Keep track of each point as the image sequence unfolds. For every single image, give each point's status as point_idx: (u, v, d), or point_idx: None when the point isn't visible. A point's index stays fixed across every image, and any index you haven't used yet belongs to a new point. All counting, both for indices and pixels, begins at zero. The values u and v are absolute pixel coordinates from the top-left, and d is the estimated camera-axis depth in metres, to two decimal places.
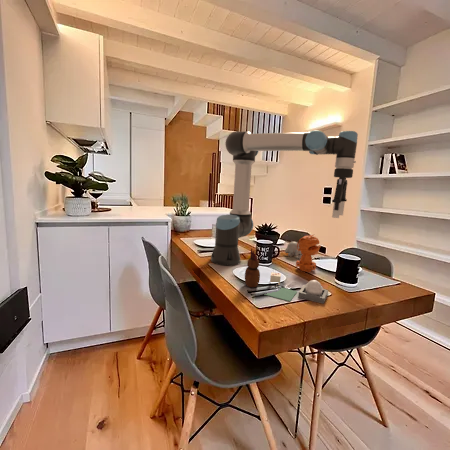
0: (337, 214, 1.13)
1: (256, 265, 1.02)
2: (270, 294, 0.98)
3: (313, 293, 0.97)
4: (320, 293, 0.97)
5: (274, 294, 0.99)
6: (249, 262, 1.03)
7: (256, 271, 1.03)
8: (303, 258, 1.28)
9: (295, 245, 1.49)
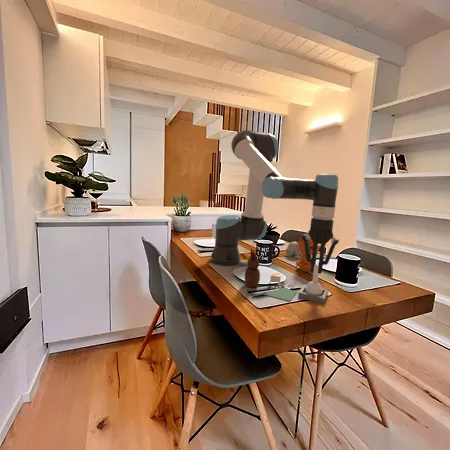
0: (313, 277, 0.98)
1: (256, 265, 1.02)
2: (270, 294, 0.98)
3: (313, 294, 0.97)
4: (320, 294, 0.97)
5: (274, 294, 0.99)
6: (249, 262, 1.03)
7: (256, 271, 1.03)
8: (303, 258, 1.28)
9: (295, 245, 1.49)
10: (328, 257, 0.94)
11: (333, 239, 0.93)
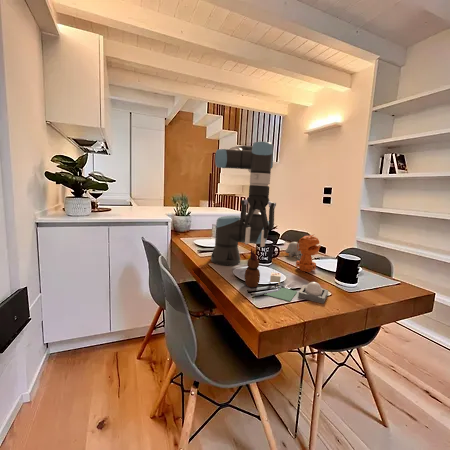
0: None
1: (256, 265, 1.02)
2: (270, 294, 0.98)
3: None
4: (320, 295, 0.97)
5: (274, 294, 0.99)
6: (249, 262, 1.03)
7: (256, 271, 1.03)
8: (303, 258, 1.28)
9: (296, 245, 1.49)
10: (270, 221, 0.98)
11: (269, 203, 0.98)
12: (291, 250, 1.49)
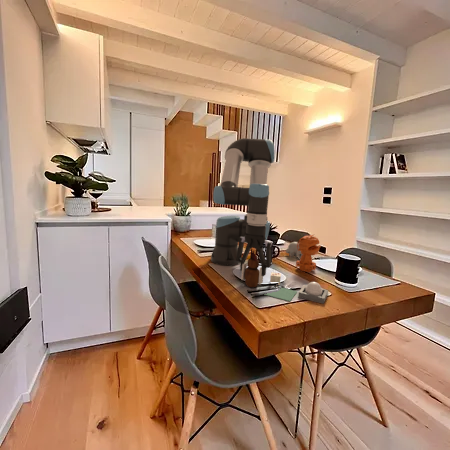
0: None
1: (256, 265, 1.02)
2: (270, 294, 0.98)
3: None
4: (320, 295, 0.97)
5: (274, 294, 0.99)
6: (249, 262, 1.03)
7: (256, 271, 1.03)
8: (303, 258, 1.28)
9: (296, 245, 1.48)
10: (267, 260, 1.00)
11: (266, 242, 1.00)
12: (291, 250, 1.49)
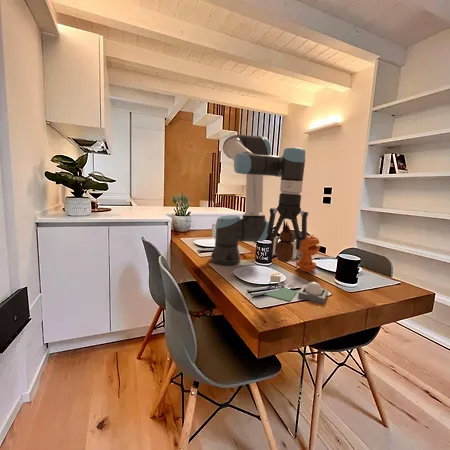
0: None
1: (290, 237, 0.95)
2: (270, 294, 0.98)
3: None
4: (320, 295, 0.97)
5: (274, 294, 0.99)
6: (282, 234, 0.95)
7: (290, 244, 0.95)
8: (303, 258, 1.28)
9: None
10: (303, 231, 0.92)
11: (302, 212, 0.93)
12: None
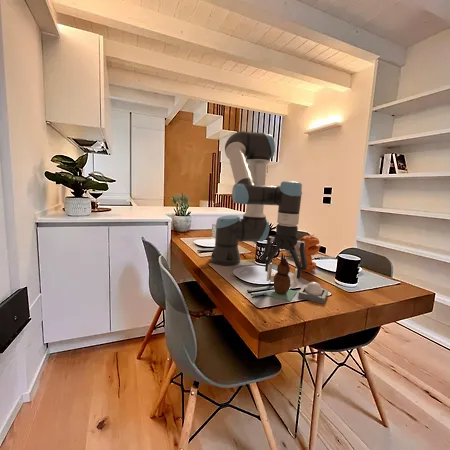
0: None
1: (287, 271, 0.97)
2: (270, 294, 0.98)
3: None
4: (320, 295, 0.97)
5: (274, 294, 0.99)
6: (280, 267, 0.97)
7: (287, 277, 0.97)
8: None
9: (296, 245, 1.48)
10: (303, 261, 0.94)
11: (299, 243, 0.94)
12: None
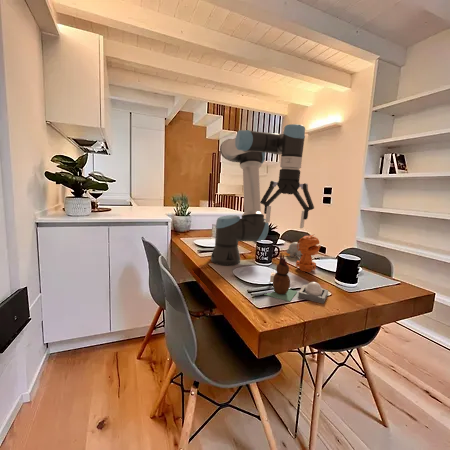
0: None
1: (286, 271, 0.97)
2: (270, 294, 0.98)
3: None
4: (320, 295, 0.97)
5: (274, 294, 0.99)
6: (279, 268, 0.97)
7: (286, 277, 0.97)
8: (303, 258, 1.28)
9: None
10: (309, 202, 0.96)
11: (301, 185, 0.97)
12: (292, 250, 1.49)
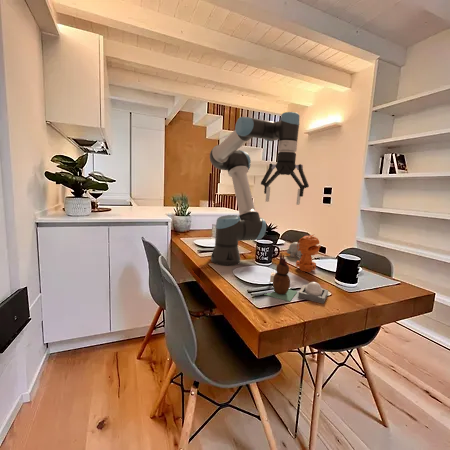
0: None
1: (286, 271, 0.97)
2: (270, 294, 0.98)
3: None
4: (320, 295, 0.97)
5: (274, 294, 0.99)
6: (279, 268, 0.97)
7: (286, 277, 0.97)
8: (303, 258, 1.28)
9: None
10: (304, 180, 1.08)
11: (297, 166, 1.09)
12: (292, 250, 1.48)
